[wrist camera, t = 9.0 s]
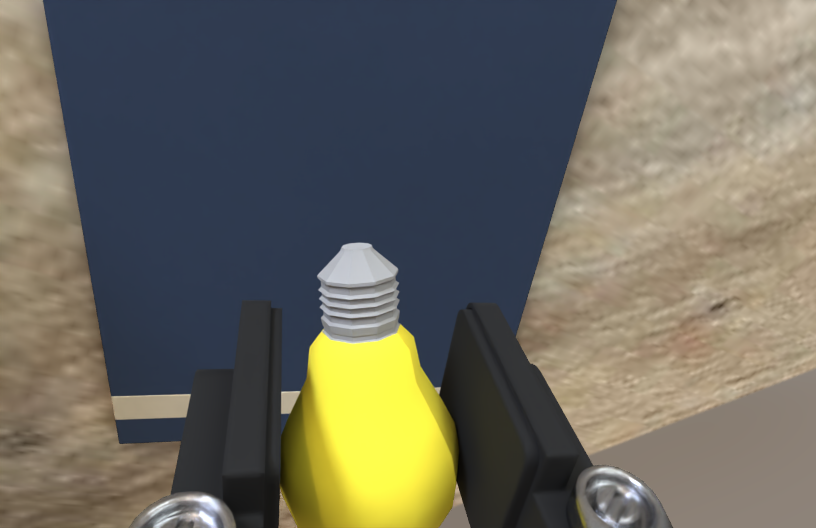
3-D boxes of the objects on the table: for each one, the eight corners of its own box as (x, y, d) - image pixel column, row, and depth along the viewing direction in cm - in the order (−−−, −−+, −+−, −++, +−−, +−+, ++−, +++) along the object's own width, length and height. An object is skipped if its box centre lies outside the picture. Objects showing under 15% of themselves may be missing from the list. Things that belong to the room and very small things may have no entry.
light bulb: (318, 475, 13) (259, 604, 10) (295, 225, 11) (215, 275, 8) (462, 483, 13) (453, 621, 9) (459, 224, 11) (448, 277, 8)
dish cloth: (-4, -306, 11) (-13, -314, 11) (656, -155, 14) (665, -157, 14) (121, 436, 21) (118, 444, 21) (485, 420, 25) (488, 427, 25)
